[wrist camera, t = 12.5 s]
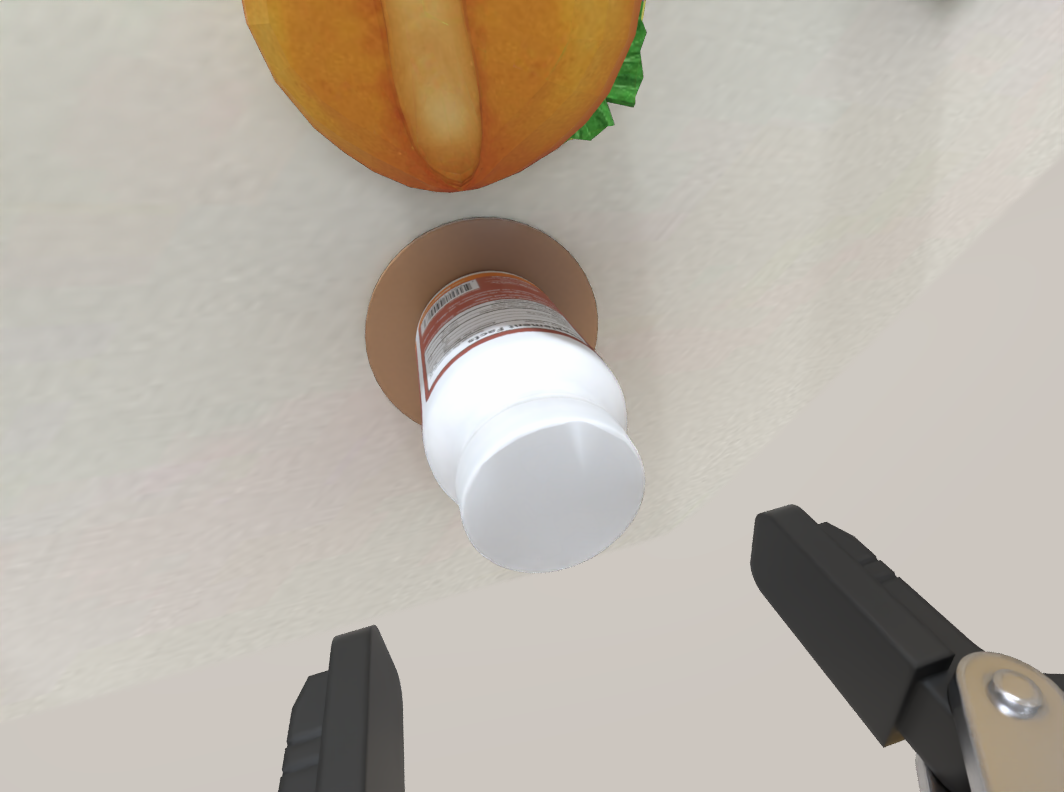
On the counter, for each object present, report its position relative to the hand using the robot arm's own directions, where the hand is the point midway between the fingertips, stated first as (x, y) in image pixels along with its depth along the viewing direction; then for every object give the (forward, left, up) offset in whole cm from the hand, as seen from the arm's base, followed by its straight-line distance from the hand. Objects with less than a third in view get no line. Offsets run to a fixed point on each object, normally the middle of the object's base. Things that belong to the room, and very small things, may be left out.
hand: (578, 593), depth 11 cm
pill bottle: (0, 0, -14) cm, 14 cm away
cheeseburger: (+2, +12, -14) cm, 18 cm away
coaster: (0, 0, -14) cm, 14 cm away
